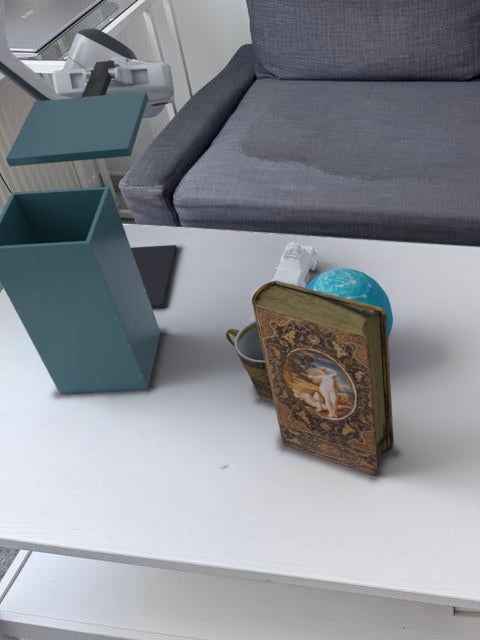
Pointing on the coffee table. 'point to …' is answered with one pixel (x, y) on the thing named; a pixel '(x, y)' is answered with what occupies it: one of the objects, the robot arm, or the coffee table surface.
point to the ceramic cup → (252, 358)
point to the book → (327, 373)
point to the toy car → (296, 264)
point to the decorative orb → (353, 289)
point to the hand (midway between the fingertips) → (100, 74)
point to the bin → (78, 289)
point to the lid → (81, 125)
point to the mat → (155, 270)
